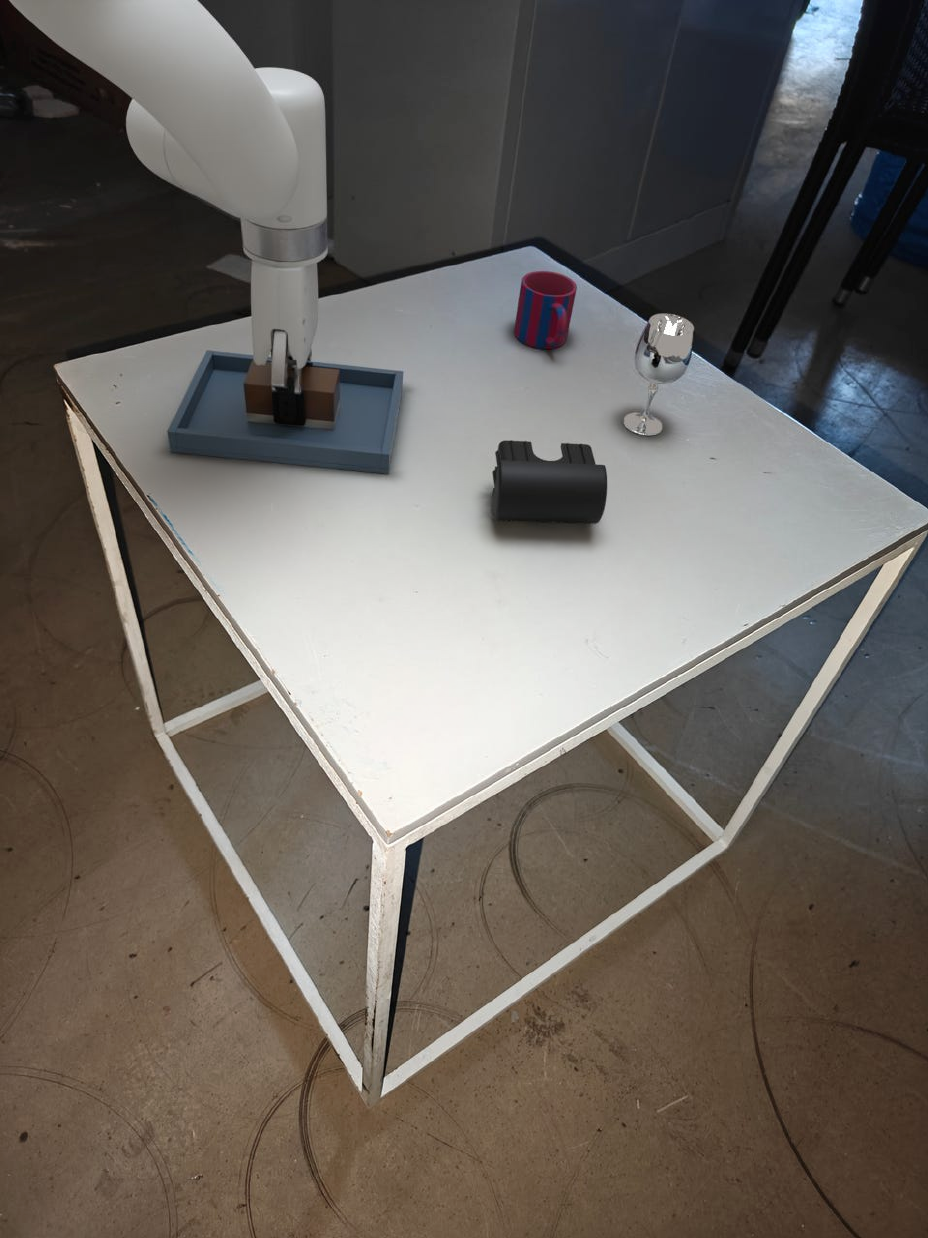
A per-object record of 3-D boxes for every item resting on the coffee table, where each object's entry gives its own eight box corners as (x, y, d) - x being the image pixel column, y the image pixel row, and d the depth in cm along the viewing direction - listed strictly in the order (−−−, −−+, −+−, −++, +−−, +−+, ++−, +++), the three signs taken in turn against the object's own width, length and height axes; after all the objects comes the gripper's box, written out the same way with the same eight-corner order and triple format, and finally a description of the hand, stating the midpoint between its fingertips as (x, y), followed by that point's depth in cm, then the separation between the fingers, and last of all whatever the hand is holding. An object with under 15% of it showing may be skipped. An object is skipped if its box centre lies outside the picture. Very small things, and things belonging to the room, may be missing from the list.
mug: (561, 323, 111) (571, 271, 106) (576, 364, 104) (587, 311, 99) (510, 321, 110) (518, 269, 105) (522, 362, 103) (530, 308, 98)
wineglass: (629, 441, 94) (658, 340, 85) (609, 411, 98) (634, 312, 89) (676, 436, 95) (709, 337, 87) (655, 407, 99) (684, 309, 90)
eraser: (246, 421, 89) (243, 382, 85) (255, 398, 92) (252, 360, 88) (334, 430, 89) (333, 392, 86) (340, 406, 92) (339, 369, 89)
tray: (170, 451, 85) (166, 431, 83) (209, 369, 96) (206, 349, 94) (388, 474, 86) (389, 454, 84) (402, 389, 97) (403, 370, 95)
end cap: (492, 538, 81) (501, 481, 76) (486, 491, 85) (494, 434, 80) (596, 542, 82) (612, 485, 77) (585, 495, 86) (599, 439, 82)
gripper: (261, 192, 82) (273, 363, 96) (220, 270, 71) (241, 453, 84) (339, 201, 83) (341, 371, 96) (312, 280, 71) (318, 461, 84)
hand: (294, 407), depth 90 cm, fingers closed on eraser, 4 cm apart
